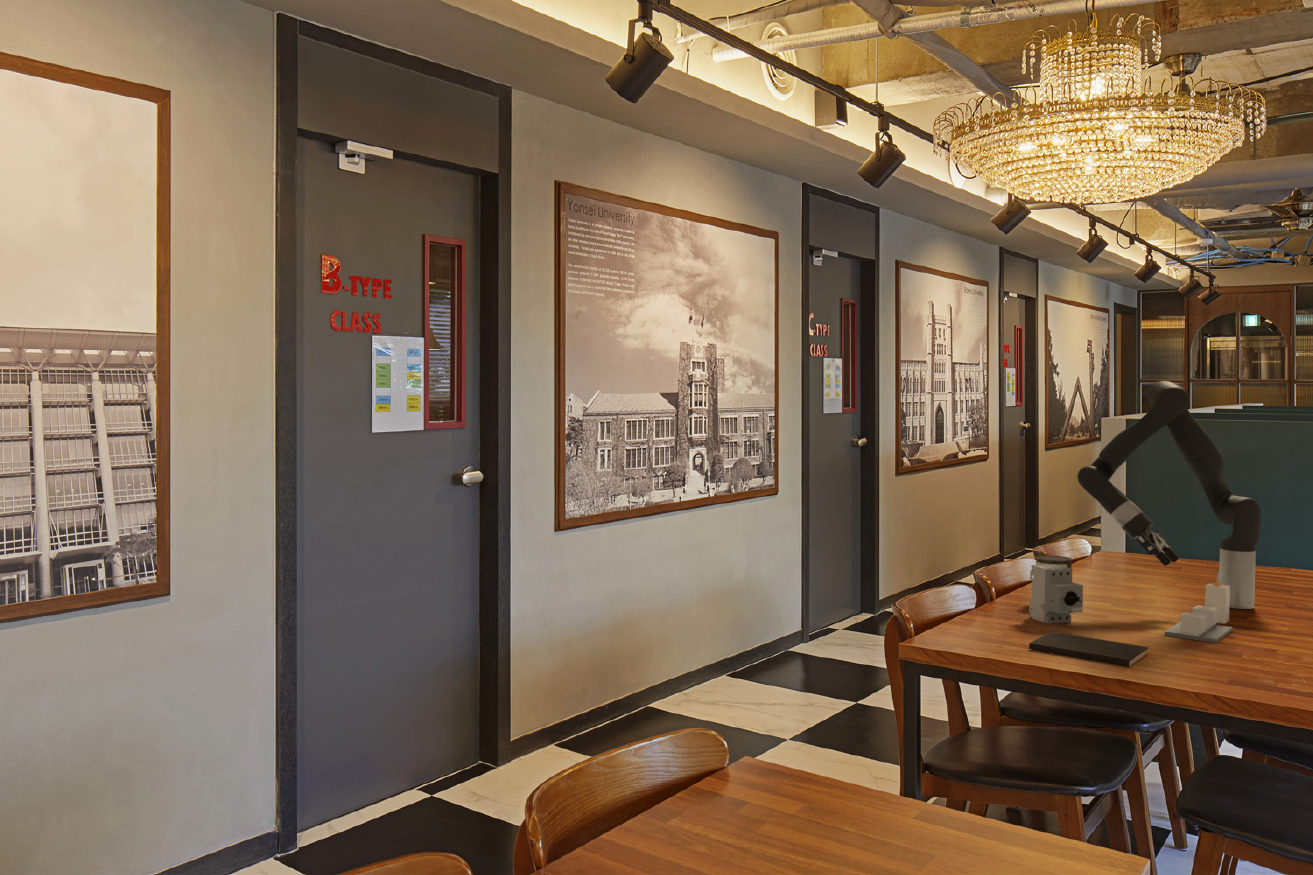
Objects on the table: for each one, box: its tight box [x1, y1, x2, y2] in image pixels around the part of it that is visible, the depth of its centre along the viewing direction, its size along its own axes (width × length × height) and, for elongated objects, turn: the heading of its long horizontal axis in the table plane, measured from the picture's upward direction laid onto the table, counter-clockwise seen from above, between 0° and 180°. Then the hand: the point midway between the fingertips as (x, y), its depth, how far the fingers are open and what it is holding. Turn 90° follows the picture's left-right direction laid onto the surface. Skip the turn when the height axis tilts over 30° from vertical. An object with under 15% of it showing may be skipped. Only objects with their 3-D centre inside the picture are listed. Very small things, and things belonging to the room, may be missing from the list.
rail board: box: [1164, 604, 1233, 644], centre depth 256 cm, size 18×12×6 cm, turn 138°
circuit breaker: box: [1028, 564, 1084, 625], centre depth 267 cm, size 8×14×15 cm, turn 15°
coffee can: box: [1035, 555, 1073, 570], centre depth 292 cm, size 10×10×14 cm
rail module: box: [1204, 580, 1230, 625], centre depth 271 cm, size 5×5×11 cm
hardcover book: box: [1028, 631, 1149, 668], centre depth 236 cm, size 16×23×2 cm
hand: (1172, 562), depth 278 cm, fingers open, 8 cm apart
